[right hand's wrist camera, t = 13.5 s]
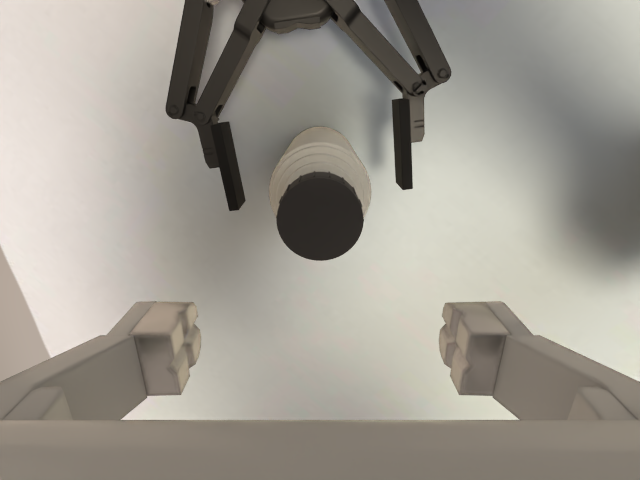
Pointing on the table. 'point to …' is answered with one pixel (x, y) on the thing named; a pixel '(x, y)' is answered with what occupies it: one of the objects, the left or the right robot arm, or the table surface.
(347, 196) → the cap
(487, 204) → the table surface
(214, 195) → the table surface
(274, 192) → the bottle
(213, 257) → the table surface
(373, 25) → the left robot arm
